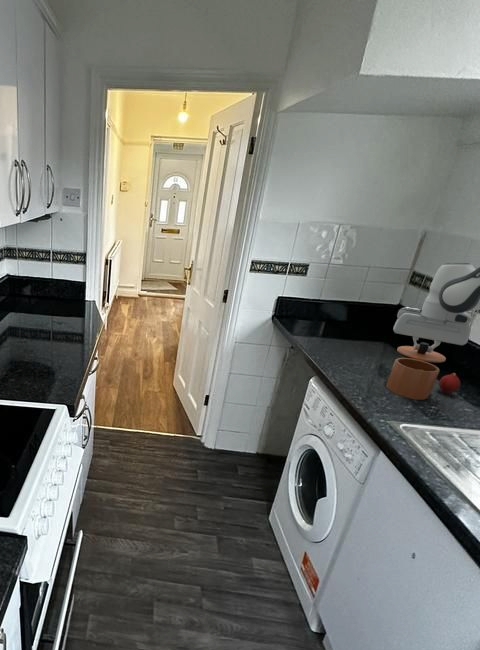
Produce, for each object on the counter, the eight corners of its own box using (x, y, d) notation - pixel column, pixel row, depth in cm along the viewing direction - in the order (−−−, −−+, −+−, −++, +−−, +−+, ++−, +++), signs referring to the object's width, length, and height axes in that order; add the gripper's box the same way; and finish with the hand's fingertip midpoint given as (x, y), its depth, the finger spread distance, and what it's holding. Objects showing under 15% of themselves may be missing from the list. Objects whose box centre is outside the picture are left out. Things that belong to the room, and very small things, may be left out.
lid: (441, 355, 145) (447, 342, 143) (447, 367, 134) (452, 354, 133) (395, 346, 152) (400, 334, 150) (397, 357, 141) (402, 344, 139)
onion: (437, 387, 153) (447, 368, 149) (456, 394, 149) (466, 374, 146) (433, 391, 149) (442, 371, 146) (452, 398, 145) (462, 378, 142)
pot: (426, 390, 151) (437, 363, 146) (429, 403, 141) (441, 375, 136) (385, 380, 156) (395, 355, 152) (386, 392, 147) (396, 365, 142)
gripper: (400, 307, 139) (387, 346, 145) (478, 320, 129) (460, 360, 135) (400, 304, 144) (386, 341, 150) (474, 315, 134) (457, 355, 140)
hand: (422, 350), depth 142 cm, fingers closed on lid, 2 cm apart
